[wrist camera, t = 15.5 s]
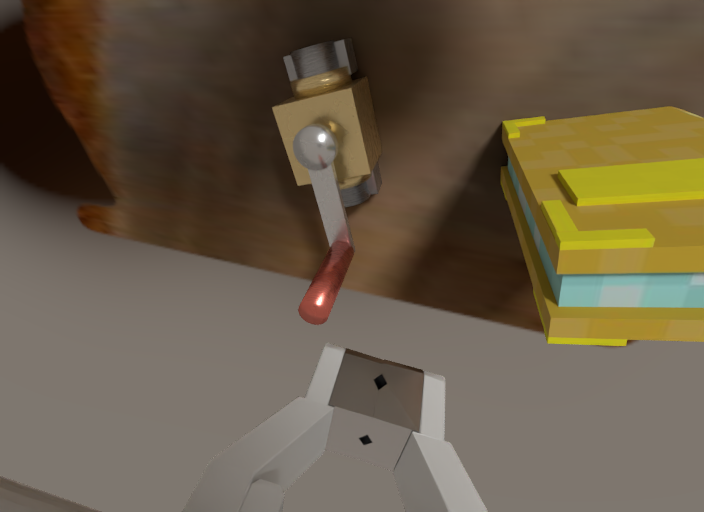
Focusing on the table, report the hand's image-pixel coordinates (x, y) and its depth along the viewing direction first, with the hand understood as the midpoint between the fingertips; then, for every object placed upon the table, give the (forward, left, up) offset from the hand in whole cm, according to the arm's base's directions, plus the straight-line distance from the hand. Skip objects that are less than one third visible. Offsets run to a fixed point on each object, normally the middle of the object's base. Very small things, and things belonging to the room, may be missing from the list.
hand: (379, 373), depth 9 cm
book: (+1, +16, -36) cm, 40 cm away
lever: (+9, -8, -27) cm, 29 cm away
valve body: (+4, -10, -36) cm, 37 cm away
